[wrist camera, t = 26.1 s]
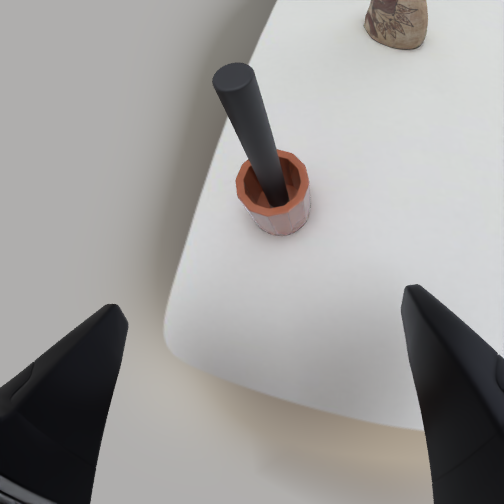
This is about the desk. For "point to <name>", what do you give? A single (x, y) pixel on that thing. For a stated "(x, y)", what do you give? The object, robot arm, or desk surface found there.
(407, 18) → the figurine
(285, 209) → the stylus holder
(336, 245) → the desk surface
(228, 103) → the dark grey rod
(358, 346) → the desk surface
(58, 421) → the robot arm
